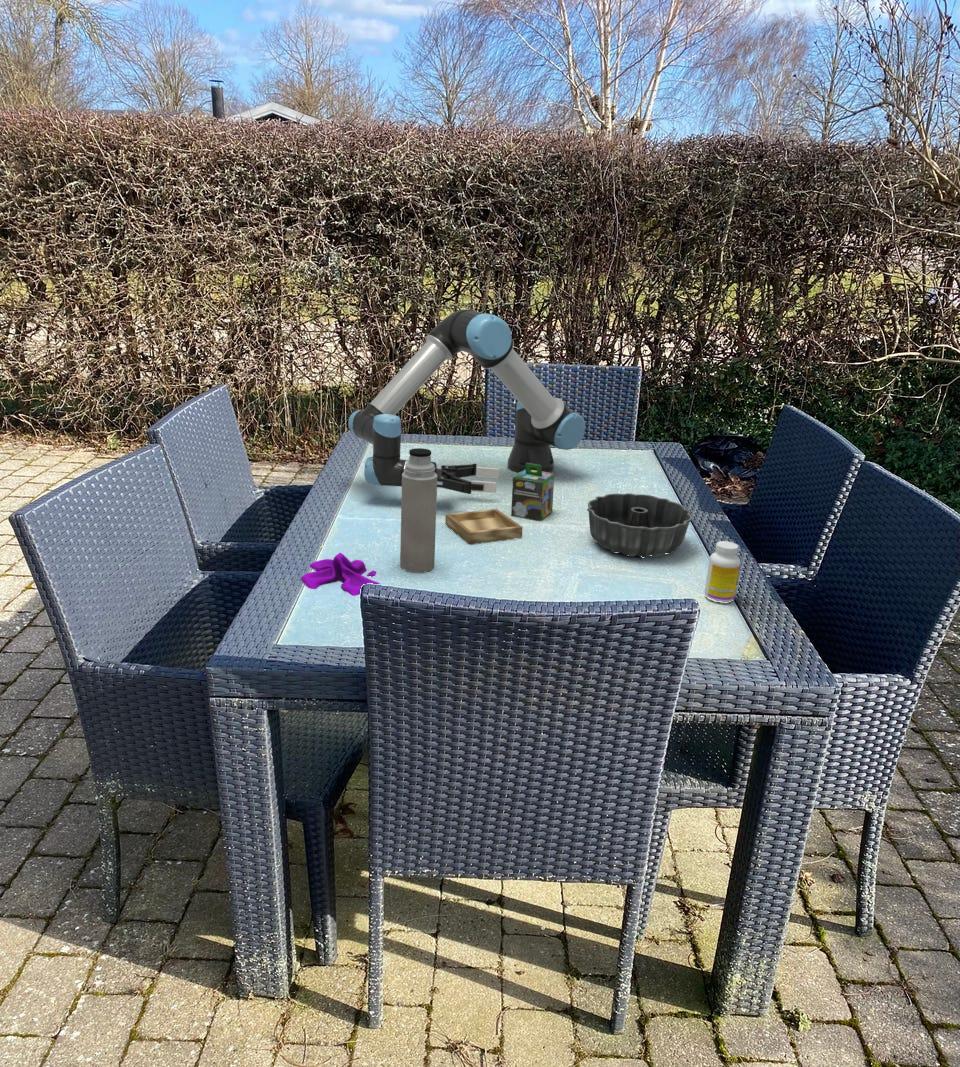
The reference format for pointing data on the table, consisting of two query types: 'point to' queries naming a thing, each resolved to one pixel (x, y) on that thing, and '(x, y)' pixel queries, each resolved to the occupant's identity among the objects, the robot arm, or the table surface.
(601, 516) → the bundt pan
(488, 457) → the table surface
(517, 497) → the chalk box
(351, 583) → the cloth
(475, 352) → the robot arm
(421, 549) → the thermos bottle
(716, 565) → the supplement bottle
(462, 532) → the bamboo tray
